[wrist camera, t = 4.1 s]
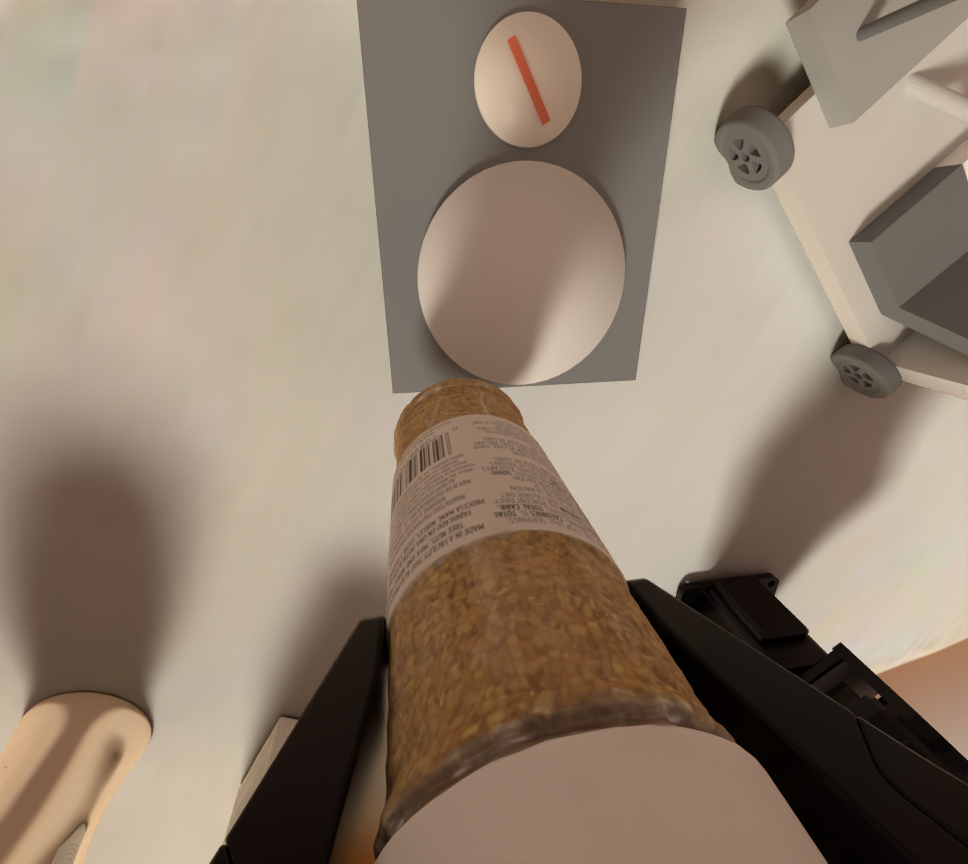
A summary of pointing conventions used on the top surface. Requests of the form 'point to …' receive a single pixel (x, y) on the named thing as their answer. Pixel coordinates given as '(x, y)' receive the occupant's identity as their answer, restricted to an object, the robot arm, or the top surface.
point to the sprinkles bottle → (540, 675)
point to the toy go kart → (876, 182)
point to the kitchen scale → (517, 183)
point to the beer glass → (65, 774)
